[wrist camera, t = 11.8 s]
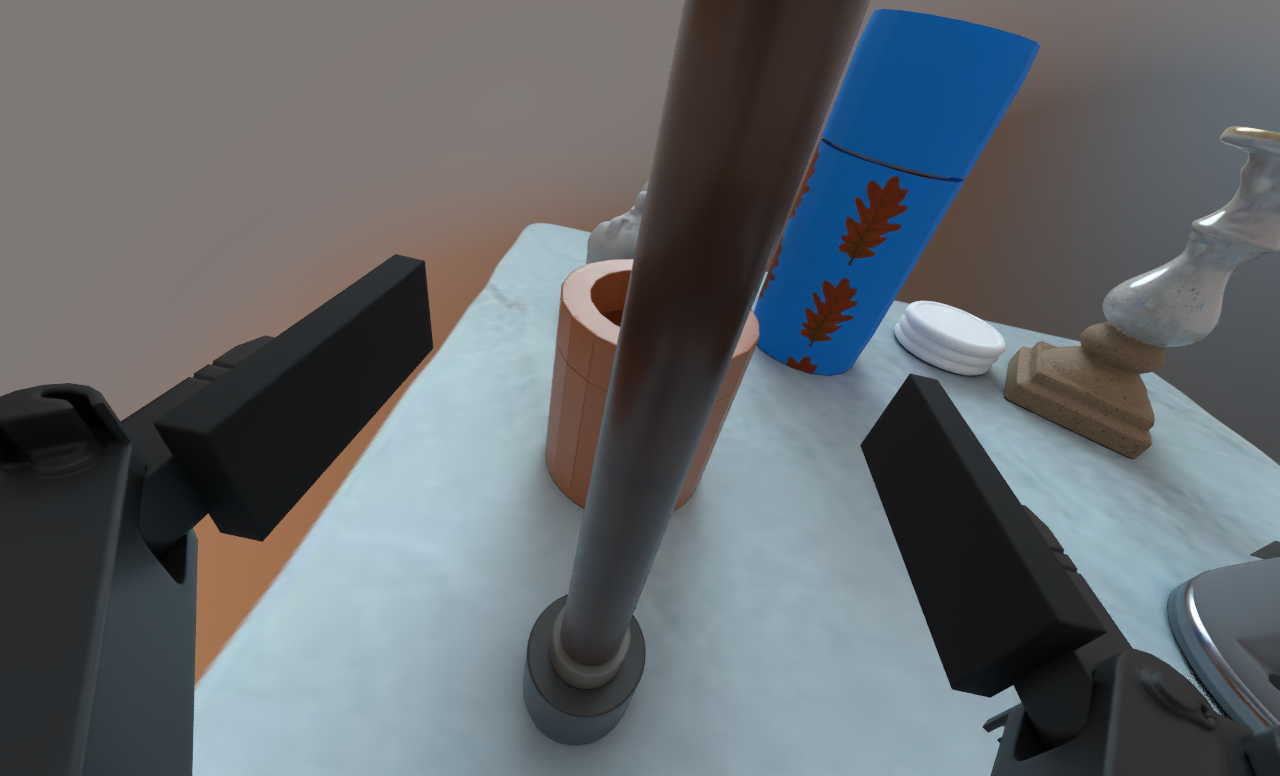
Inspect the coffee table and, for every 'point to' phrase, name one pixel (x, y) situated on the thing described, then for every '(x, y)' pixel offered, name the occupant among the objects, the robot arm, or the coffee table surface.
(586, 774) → the coffee table surface
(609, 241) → the dog figurine
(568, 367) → the orange pencil cup
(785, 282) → the thermos
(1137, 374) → the candle holder
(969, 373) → the coaster
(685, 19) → the dark long rod
